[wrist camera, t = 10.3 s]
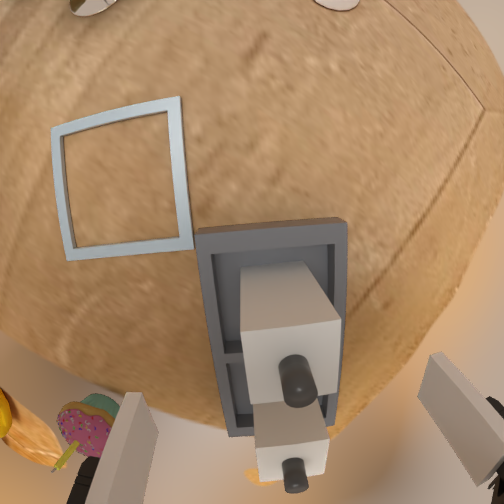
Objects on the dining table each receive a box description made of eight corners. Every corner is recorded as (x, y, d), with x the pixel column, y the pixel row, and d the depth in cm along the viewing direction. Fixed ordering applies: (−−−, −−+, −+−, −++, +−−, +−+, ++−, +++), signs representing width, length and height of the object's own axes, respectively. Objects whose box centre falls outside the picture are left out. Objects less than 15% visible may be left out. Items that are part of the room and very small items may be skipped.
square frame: (70, 259, 24) (66, 261, 23) (54, 128, 20) (50, 128, 20) (195, 247, 24) (194, 249, 23) (181, 97, 21) (179, 96, 20)
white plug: (254, 401, 28) (261, 505, 16) (250, 364, 26) (256, 475, 14) (303, 396, 28) (329, 496, 16) (304, 358, 26) (337, 464, 14)
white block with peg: (247, 322, 25) (252, 434, 13) (240, 267, 24) (240, 360, 12) (305, 316, 25) (347, 420, 13) (303, 260, 24) (357, 344, 12)
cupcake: (68, 405, 29) (30, 472, 17) (82, 367, 27) (33, 443, 15) (127, 439, 30) (102, 512, 18) (150, 407, 28) (123, 494, 17)
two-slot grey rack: (229, 420, 29) (228, 436, 27) (198, 228, 23) (194, 235, 21) (329, 409, 29) (334, 425, 27) (337, 217, 24) (347, 222, 21)
